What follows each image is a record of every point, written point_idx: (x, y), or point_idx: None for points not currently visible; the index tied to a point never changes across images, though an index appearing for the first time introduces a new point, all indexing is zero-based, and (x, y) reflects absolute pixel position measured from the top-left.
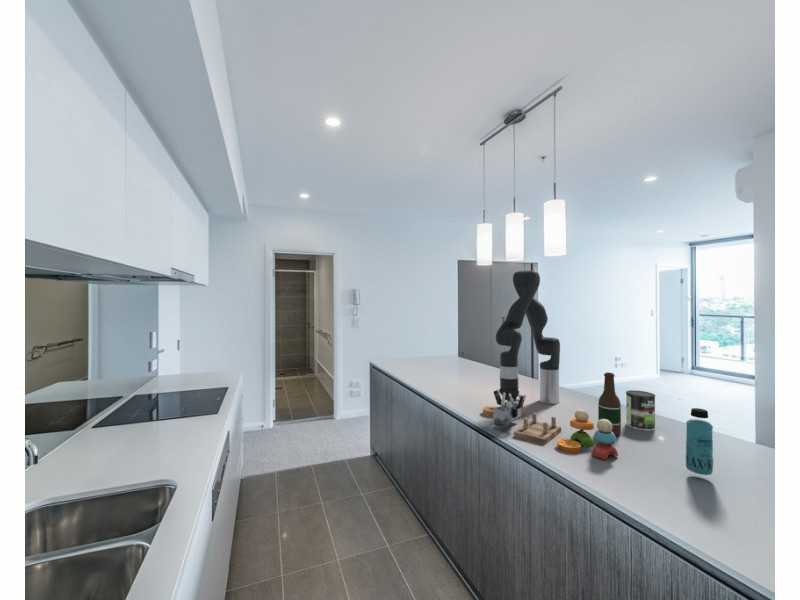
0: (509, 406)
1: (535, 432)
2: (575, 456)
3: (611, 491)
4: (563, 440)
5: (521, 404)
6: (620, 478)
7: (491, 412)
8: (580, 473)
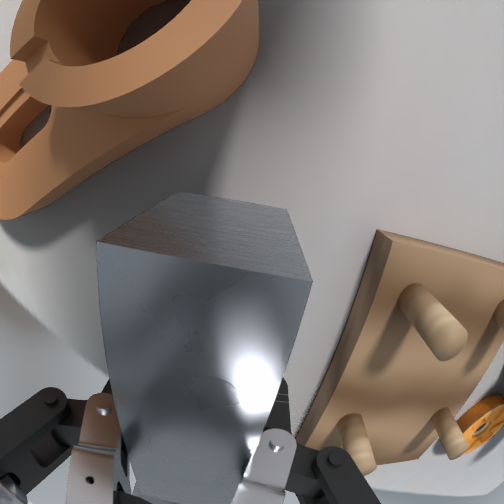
0: (210, 488)
1: (396, 432)
2: None
3: (460, 488)
4: (479, 418)
5: (345, 486)
6: (497, 455)
7: (23, 214)
8: (442, 485)
